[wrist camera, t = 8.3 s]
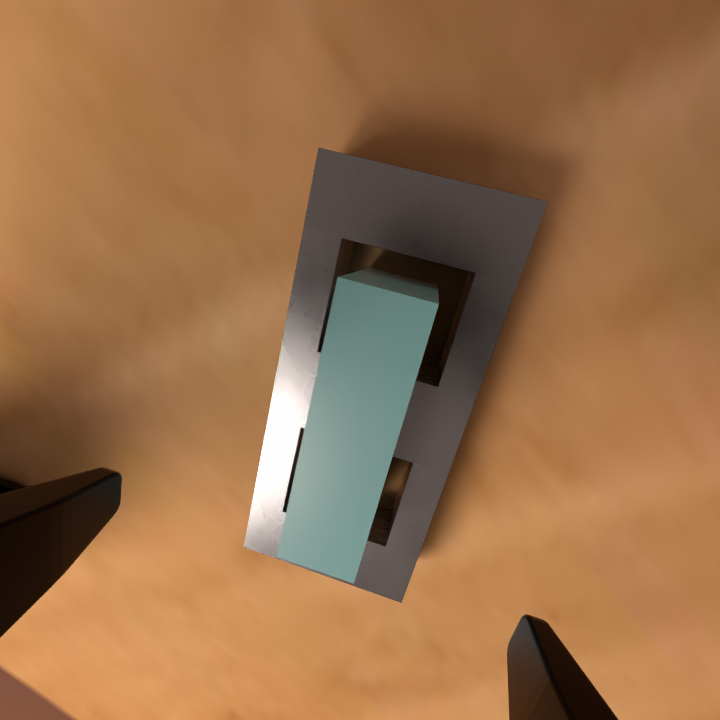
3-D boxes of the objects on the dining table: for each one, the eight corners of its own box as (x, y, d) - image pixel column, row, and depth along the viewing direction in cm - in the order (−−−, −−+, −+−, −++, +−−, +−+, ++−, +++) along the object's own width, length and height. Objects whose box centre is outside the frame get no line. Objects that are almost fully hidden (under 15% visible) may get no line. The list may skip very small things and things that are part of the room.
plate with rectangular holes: (405, 562, 21) (401, 602, 18) (264, 514, 22) (243, 546, 19) (530, 209, 15) (547, 201, 13) (335, 162, 16) (318, 147, 14)
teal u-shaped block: (377, 488, 20) (353, 583, 14) (321, 470, 20) (276, 556, 15) (437, 285, 17) (438, 304, 11) (370, 267, 17) (337, 276, 11)
